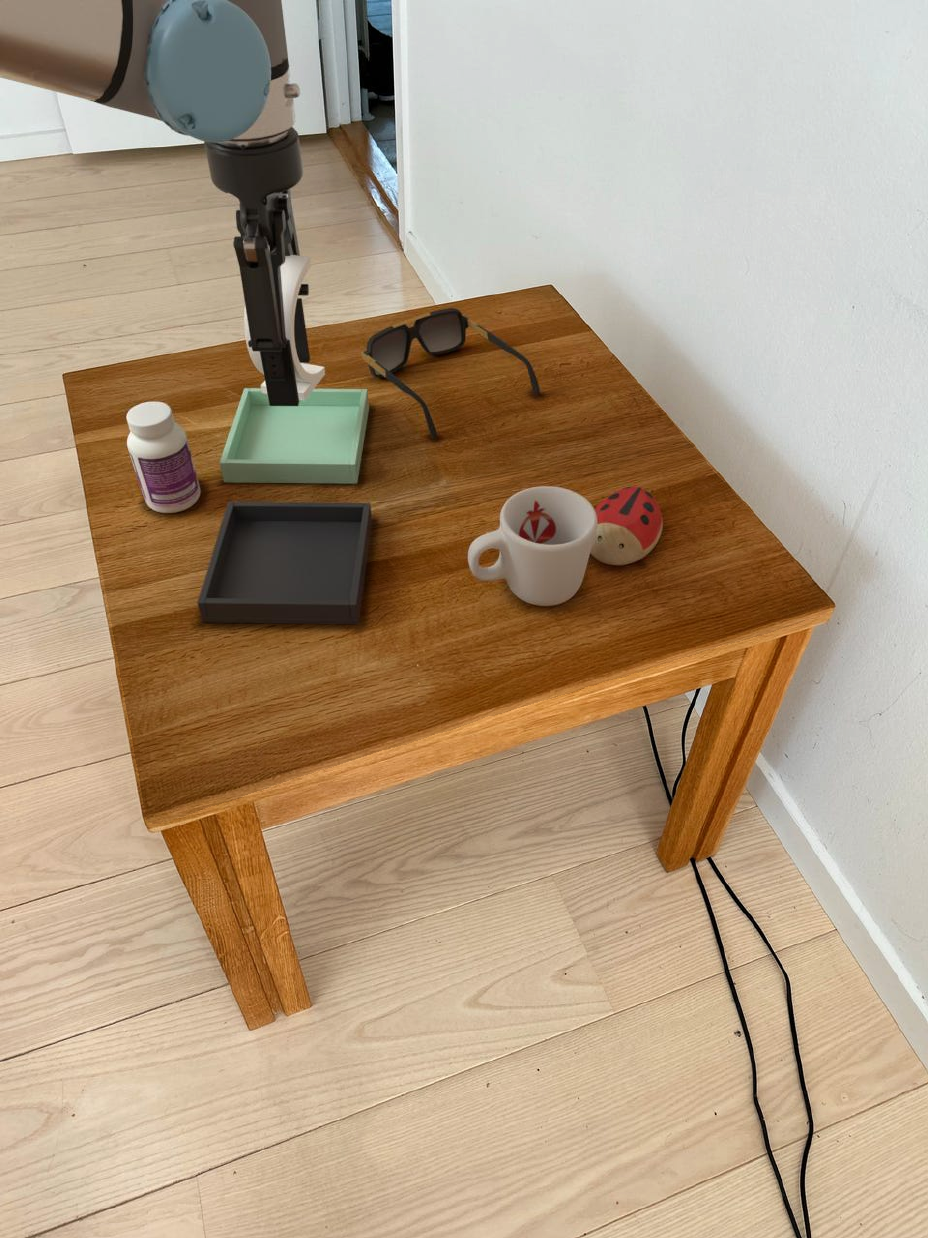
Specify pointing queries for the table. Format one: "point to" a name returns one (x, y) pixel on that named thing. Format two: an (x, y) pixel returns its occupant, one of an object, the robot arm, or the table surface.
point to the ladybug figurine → (626, 526)
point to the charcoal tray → (288, 563)
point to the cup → (539, 545)
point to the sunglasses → (427, 347)
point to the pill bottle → (161, 458)
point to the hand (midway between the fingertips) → (290, 381)
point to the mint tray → (297, 438)
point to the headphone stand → (291, 326)
